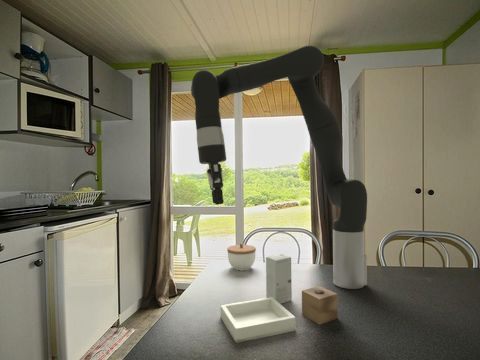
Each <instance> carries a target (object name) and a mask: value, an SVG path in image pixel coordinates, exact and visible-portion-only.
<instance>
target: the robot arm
mask: <svg viewBox="0 0 480 360" xmlns="http://www.w3.org/2000/svg"><path fill="white" fill-rule="evenodd" d="M324 64H325V58H324V55H323V52H322V50H320V48H318V47H316V46H315V45H304V46H302V47H300V48H297V49H295V50H292V51H290V52H289V51H288V52H287V53H284V54H281V55H278V56H276V57H272V58H269V59H265V60H261V61H260V60H259V61H257V62H253V63H247V64H243V65H237V66H234V67H229V68H227V69H225V70H224V71H222V72H221V73H220V74H217V75H215V74H214V73H213V72H211V71H210V70H207V69H201V70H198V71H197V72H196V73H195V74H194V75H193V77H192V80H191V85H190V86H191V87H190V92H191V95H192V98H193V99H194V104H195V105H194V106H195V115H194V116H195V127H196V145H197V152H198V160H199V161H198V162H199V164H201V165H208V168H207V170H206V176H207V179H208V181H207V182H208V185H209V190H211V198H212V199H211V200H212V203H213V204H215V205H217V206H218V205H223V204H224V195H223V188H224V183H223V182H224V181H223V180H224V178H223V170H222V168H221V167H222V164H221V163H224V162H226V161H227V152H226V145H225V144H226V143H225V137H224V133H223V126H222V119H221V114H220V113H221V112H220V100H221V99H223V98H225V97H228V96H229V95H232V94H238V93H239V94H240V93H244V92H246V91H247V92H248V91H252V90H255V89H258V88H260V87H263V86H265V85H268V84H271V83H273V82H276V81H278V80H279V81H280V80H283V79H285V78H287V79H288V82H289V84H290V85H291V88H292V90H293V93H294V95H295V97H296V100H297V101H298V103H299V106H300V110H301V113H302V116H303V119H304V121H305V125H306V128H307V132H308V134H309V138H310V141H311V143H312V145H313V148H314V151H315V153H316V154H315V155H316V157H317V160H318V164H319V167H320V168H321V173H322V177H323V182H324V186H325V191H326V194H327V197H328V199H329V202H330V203H331V204H332V205H334V206H335V207H337V208H339V209H340V211H339V216H338V218H336V219H334V220H332V268H333V269H332V270H333V271H332V275H333V277H332V279H333V280H332V281H333V282H332V283H333V285H335V286H337V287H339V288H342V289H348V290H358V289H362V288H364V287H365V286H367V285H368V281H367V280H368V278H367V277H368V274H367V273H368V271H367V266H368V263H367V259H368V258H367V254H366V253H365V243H364V242H365V241H364V240H365V239H364V238H365V235H364V231H365V230H364V228H365V224H366V222H367V215H368V214H367V213H368V211H367V209H368V191H367V188H366V185H365V184H364V183H363V182H362V181H360V180H359V179H349V178H347V177H346V174H345V171H344V169H343V164H342V149H343V134H342V131H341V127H340V124H339V122H338V119H337V116H336V115H335V113H334V112H333V110H332V109H331V107H329V105H328V104H327V102H325V101H324V99H323V98H322V97H321V95H320V93H319V91H318V88H317V85H316V83H315V77H316V76H317V75H318V74H319V73H320V72H321V71H322V69H323V67H324Z"/></svg>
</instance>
